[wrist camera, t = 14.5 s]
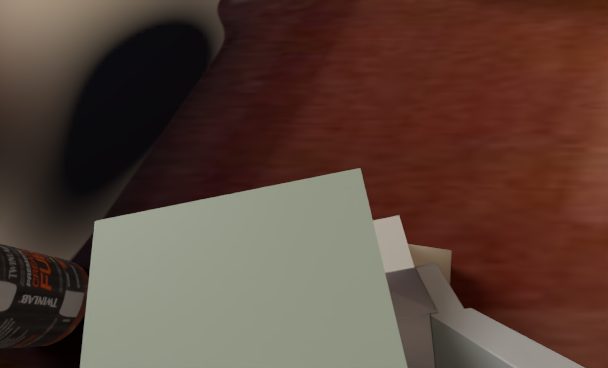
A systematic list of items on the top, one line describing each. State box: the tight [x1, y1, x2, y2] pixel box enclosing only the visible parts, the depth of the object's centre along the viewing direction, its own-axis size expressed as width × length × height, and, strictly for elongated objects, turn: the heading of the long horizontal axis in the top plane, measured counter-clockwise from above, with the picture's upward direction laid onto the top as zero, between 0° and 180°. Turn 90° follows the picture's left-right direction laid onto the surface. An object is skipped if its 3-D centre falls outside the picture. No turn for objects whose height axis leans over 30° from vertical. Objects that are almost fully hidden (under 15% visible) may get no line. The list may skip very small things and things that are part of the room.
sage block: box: [80, 168, 408, 368], centre depth 9 cm, size 5×5×8 cm
